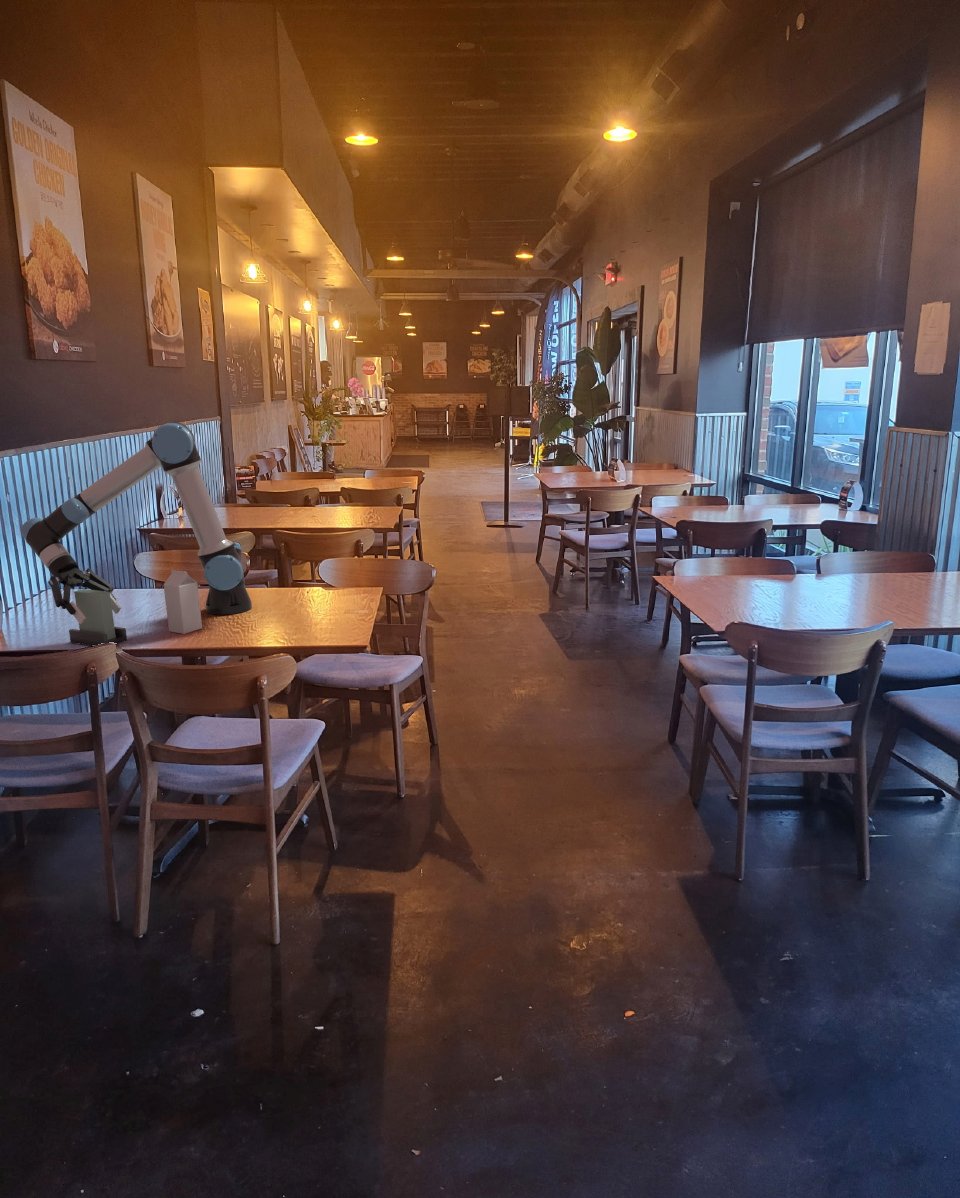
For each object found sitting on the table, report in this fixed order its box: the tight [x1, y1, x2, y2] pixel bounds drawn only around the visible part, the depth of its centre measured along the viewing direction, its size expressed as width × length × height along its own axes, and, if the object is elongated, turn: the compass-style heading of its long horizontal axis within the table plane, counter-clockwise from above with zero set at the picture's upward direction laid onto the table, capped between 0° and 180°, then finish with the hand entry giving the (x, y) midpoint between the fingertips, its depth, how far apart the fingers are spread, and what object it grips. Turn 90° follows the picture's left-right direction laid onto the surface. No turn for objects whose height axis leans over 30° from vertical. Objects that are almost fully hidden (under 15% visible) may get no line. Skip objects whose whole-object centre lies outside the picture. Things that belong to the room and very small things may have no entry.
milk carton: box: [163, 569, 203, 635], centre depth 263 cm, size 7×7×19 cm
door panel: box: [73, 588, 116, 640], centre depth 253 cm, size 11×4×14 cm, turn 63°
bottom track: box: [68, 626, 128, 647], centre depth 255 cm, size 15×8×4 cm, turn 63°
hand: (101, 616), depth 252 cm, fingers open, 12 cm apart
